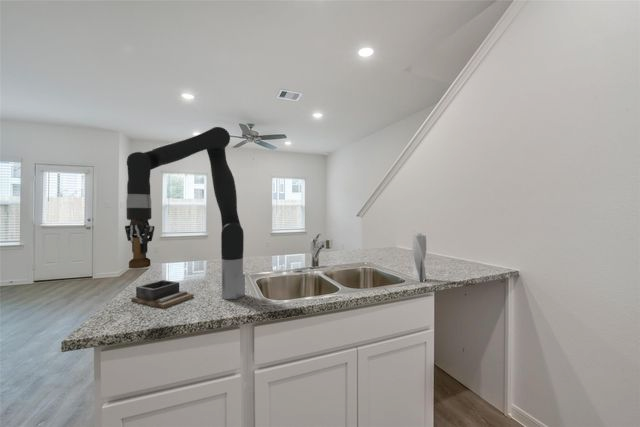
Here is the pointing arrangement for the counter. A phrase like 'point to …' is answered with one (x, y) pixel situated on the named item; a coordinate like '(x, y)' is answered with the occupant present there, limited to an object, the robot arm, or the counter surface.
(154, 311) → the counter surface
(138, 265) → the brown wooden chess pawn
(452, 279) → the counter surface
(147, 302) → the socket board
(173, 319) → the counter surface
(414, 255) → the skyscraper
